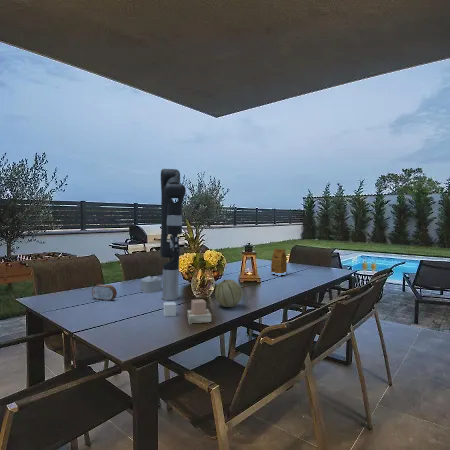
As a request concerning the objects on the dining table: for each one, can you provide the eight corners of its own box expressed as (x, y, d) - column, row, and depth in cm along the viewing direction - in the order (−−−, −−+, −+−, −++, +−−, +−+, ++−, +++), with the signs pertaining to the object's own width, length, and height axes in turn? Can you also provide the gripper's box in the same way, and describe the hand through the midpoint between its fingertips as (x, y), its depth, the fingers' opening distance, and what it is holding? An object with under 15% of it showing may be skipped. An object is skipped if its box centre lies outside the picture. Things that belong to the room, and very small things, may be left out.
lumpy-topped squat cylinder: (139, 290, 208) (139, 276, 208) (156, 287, 217) (157, 274, 216) (146, 293, 200) (146, 279, 200) (165, 290, 209) (165, 277, 209)
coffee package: (277, 273, 276) (277, 247, 275) (288, 275, 266) (288, 249, 265) (268, 274, 270) (269, 248, 269) (279, 277, 260) (280, 249, 259)
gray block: (187, 318, 155) (187, 309, 155) (208, 317, 157) (208, 309, 157) (189, 325, 145) (189, 316, 145) (211, 324, 147) (211, 315, 147)
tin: (116, 300, 184) (117, 285, 184) (113, 301, 181) (113, 286, 181) (94, 297, 188) (94, 283, 188) (90, 299, 185) (90, 284, 185)
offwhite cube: (163, 313, 161) (163, 302, 161) (174, 312, 163) (174, 301, 162) (164, 316, 156) (164, 305, 156) (176, 315, 157) (176, 304, 157)
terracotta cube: (191, 311, 153) (191, 299, 152) (202, 310, 154) (202, 299, 154) (194, 314, 147) (194, 303, 147) (205, 313, 149) (206, 302, 149)
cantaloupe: (247, 306, 175) (248, 279, 174) (229, 312, 164) (230, 283, 163) (227, 301, 184) (227, 275, 184) (208, 306, 173) (209, 278, 173)
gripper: (184, 225, 154) (183, 259, 155) (179, 224, 168) (179, 255, 169) (168, 225, 152) (168, 259, 153) (165, 223, 166) (164, 255, 167)
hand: (174, 257), depth 161 cm, fingers open, 8 cm apart
